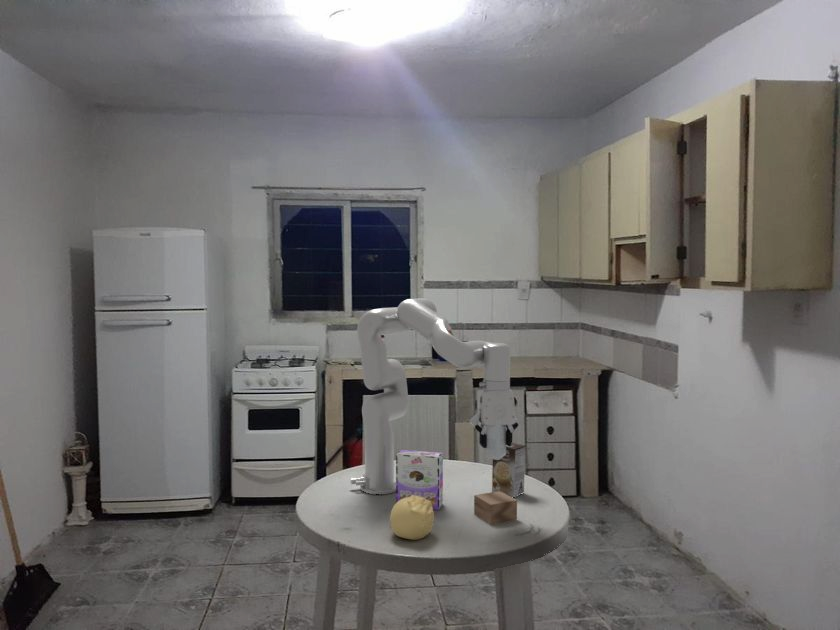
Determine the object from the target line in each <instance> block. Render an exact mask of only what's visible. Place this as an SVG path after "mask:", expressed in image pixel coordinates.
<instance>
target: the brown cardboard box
mask: <svg viewBox="0 0 840 630" xmlns="http://www.w3.org/2000/svg"><path fill="white" fill-rule="evenodd" d="M473 498H474V500H473V501H474V504H473V505H474V506H473V511H474V512H473V514H474V516H476V517H478V518H479V519H480V520H482V521H483V522H485V523H486V524H489V525H490V526H491V525H497V524H501V523H502V524H503V523H507V522H512V520H513V521H517V520H518V519H517V518H518V500H517V499H515V498H512V497H510V496H508V495H507V494H505V493H503V492H501V491H497V492H492V491H491V492H486V493H479V494H475V495H474V497H473ZM516 519H517V520H516Z"/></svg>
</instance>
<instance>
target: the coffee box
mask: <svg viewBox="0 0 840 630" xmlns="http://www.w3.org/2000/svg"><path fill="white" fill-rule="evenodd" d="M525 464H526V445H523V444H519V443H516V442H512V443H511V446H508V445H506V455H505V456H503V457H502V458H501V459H499V460H495V459H492V468H491V471H492V473H491V474H492V475H491V478H492V479H491V492H497V491H501V492H503V493H505V494H507V495H508V496H510V497H515V498H517V497H518V496H517V495H519V494H521V493H523V492H524V493H525V471H526V465H525ZM516 496H517V497H516Z"/></svg>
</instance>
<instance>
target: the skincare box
mask: <svg viewBox="0 0 840 630" xmlns="http://www.w3.org/2000/svg"><path fill="white" fill-rule="evenodd" d="M506 431H507V429H506V425H504V426H501V425H500V418H499V419H495V425H494V426H488V428H487V430H486V432H485V434H486V435H487V447H486V448H485V458H486V459H488V460H493V459H495V460H499V459H501V458H502V457H503V456H505V455H506Z"/></svg>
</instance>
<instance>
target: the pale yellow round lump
mask: <svg viewBox="0 0 840 630" xmlns="http://www.w3.org/2000/svg"><path fill="white" fill-rule="evenodd" d="M434 514H435V512H434V509H433V508H432V503H431V501H430V500H427V499H425V498H424V497H419V496H415V495H412V496H410V497H406V498H403V499H401V500H399V501H398V502H397V503H395V504H393V507H392V509H391V512H390V516H389V524H390V528H391V530H392V532H393V534H395V536H398V537H399V538H402V539H406V540H413V541H417V540H421V539H423V538H425V537H426V536H427V535H429V533H430V532H431V531H432V528H433V526H434V522H433V521H434V520H435V515H434Z"/></svg>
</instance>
